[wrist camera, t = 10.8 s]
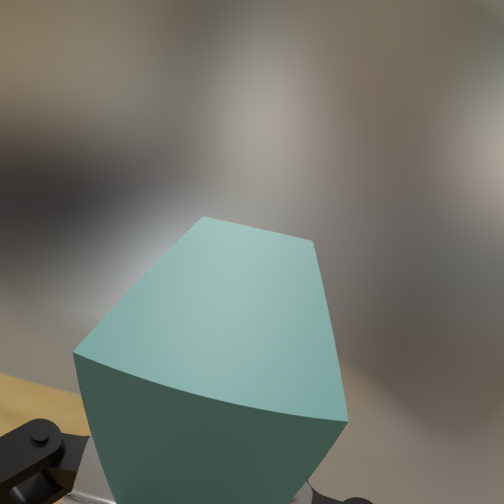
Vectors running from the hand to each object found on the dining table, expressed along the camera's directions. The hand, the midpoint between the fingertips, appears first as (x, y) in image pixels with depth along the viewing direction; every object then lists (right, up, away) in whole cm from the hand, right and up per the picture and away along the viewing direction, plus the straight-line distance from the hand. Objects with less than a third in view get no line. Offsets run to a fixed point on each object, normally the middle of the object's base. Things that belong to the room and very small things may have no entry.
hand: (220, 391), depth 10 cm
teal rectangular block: (-2, -8, 0) cm, 9 cm away
